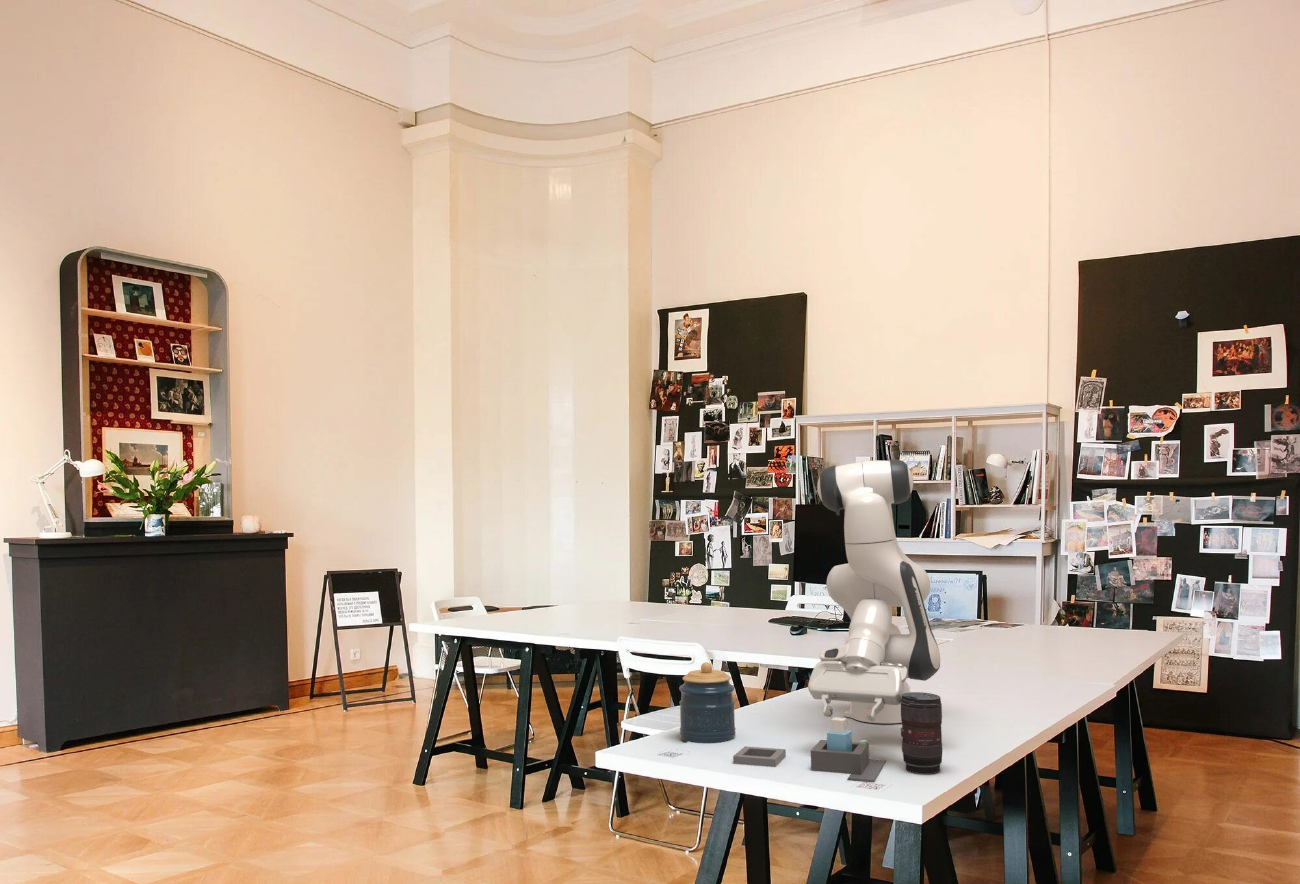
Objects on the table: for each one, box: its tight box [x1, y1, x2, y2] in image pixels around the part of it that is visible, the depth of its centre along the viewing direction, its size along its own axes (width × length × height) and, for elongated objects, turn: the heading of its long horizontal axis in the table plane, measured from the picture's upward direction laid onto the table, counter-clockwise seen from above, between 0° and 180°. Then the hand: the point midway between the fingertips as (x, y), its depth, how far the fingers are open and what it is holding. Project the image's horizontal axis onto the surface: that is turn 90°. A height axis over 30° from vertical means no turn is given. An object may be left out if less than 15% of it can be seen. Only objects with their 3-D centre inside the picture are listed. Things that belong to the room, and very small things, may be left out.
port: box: [810, 739, 887, 783], centre depth 204 cm, size 16×16×5 cm
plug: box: [826, 716, 853, 752], centre depth 205 cm, size 4×4×10 cm
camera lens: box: [900, 691, 943, 775], centre depth 203 cm, size 8×8×15 cm
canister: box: [678, 662, 737, 744], centre depth 233 cm, size 13×13×18 cm
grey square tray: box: [732, 745, 787, 768], centre depth 210 cm, size 9×9×2 cm
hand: (848, 717), depth 207 cm, fingers open, 8 cm apart
